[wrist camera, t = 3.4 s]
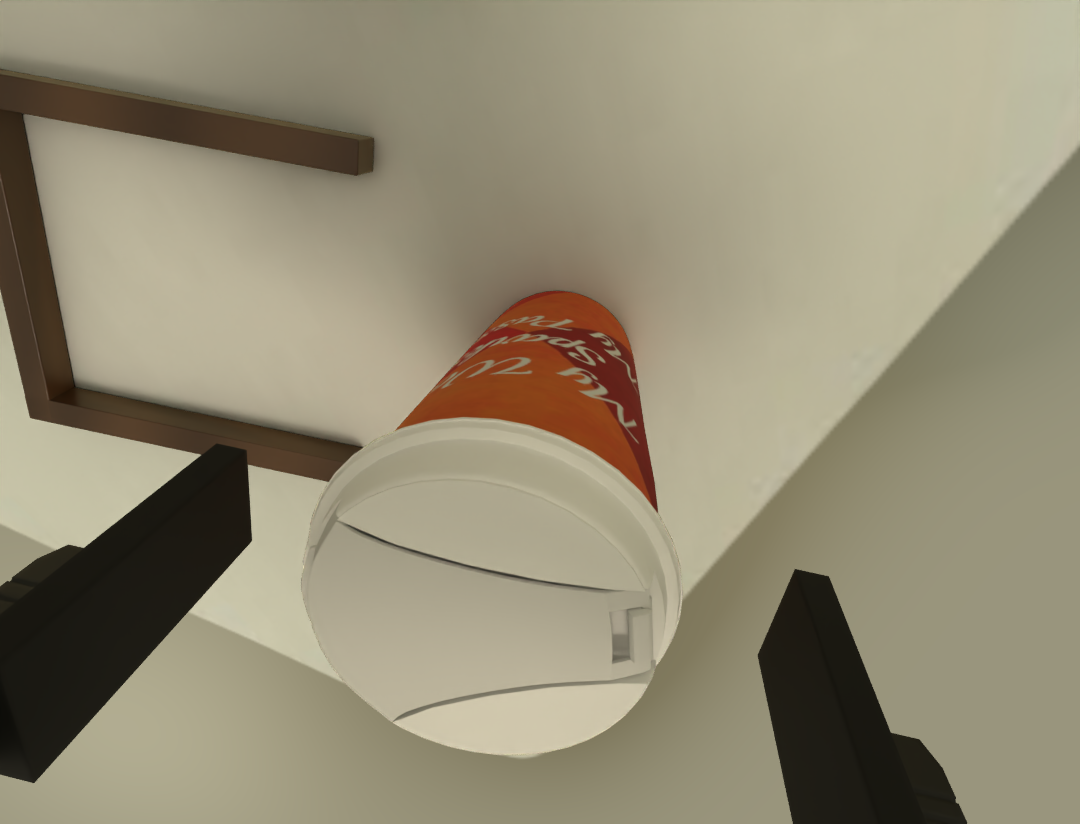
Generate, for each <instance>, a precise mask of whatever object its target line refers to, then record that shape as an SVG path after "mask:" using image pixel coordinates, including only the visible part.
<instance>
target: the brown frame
mask: <svg viewBox="0 0 1080 824" xmlns="http://www.w3.org/2000/svg"><path fill="white" fill-rule="evenodd" d="M22 113H23V114H29V115H34V116H39V117H45V118H50V119H55V120H61V121H66V122H71V123H77V124H82V125H88V126H93V127H98V128H104V129H109V130H114V131H120V132H125V133H130V134H136V135H141V136H146V137H152V138H157V139H162V140H168V141H173V142H178V143H184V144H189V145H195V146H200V147H205V148H211V149H216V150H221V151H227V152H232V153H237V154H243V155H248V156H253V157H259V158H264V159H269V160H275V161H280V162H285V163H291V164H296V165H302V166H307V167H312V168H318V169H323V170H328V171H334V172H339V173H344V174H350V175H355V176H358V175H361V174H365V173H369V172H372V171H373V149H374V138H372V137H368V136H362V135H357V134H351V133H346V132H341V131H335V130H330V129H324V128H319V127H313V126H308V125H302V124H297V123H291V122H286V121H281V120H275V119H270V118H264V117H259V116H253V115H248V114H242V113H237V112H231V111H226V110H221V109H215V108H210V107H204V106H199V105H193V104H188V103H182V102H177V101H171V100H166V99H161V98H155V97H150V96H144V95H139V94H133V93H128V92H122V91H117V90H111V89H106V88H101V87H95V86H90V85H84V84H79V83H73V82H68V81H62V80H57V79H51V78H46V77H41V76H35V75H30V74H24V73H19V72H13V71H8V70H2V69H0V290H1V294H2V299H3V303H4V307H5V312H6V316H7V320H8V324H9V329H10V333H11V337H12V341H13V346H14V350H15V354H16V359H17V363H18V367H19V371H20V376H21V380H22V384H23V389H24V393H25V399H26V403H27V407H28V411H29V416H30V418H32V419H37V420H42V421H46V422H51V423H56V424H60V425H65V426H70V427H75V428H79V429H84V430H89V431H93V432H98V433H103V434H107V435H112V436H117V437H121V438H126V439H131V440H135V441H140V442H145V443H149V444H154V445H159V446H163V447H168V448H173V449H178V450H182V451H187V452H192V453H196V454H201V455H202V454H204V453H205V452H206V451H207V450H209V449H210V448H211V447H212V446H214V445H215V444H216V443H217V444H222V445H227V446H231V447H236V448H240V449H245V450H247V463H248V465H252V466H257V467H262V468H266V469H271V470H276V471H281V472H285V473H290V474H295V475H299V476H304V477H309V478H313V479H318V480H323V481H327V482H329V481H330V480H331V478H332V477H333V475H334V474H335V472H336V471H337V470H338V469H339V468H340V467H341V466H342V465H343V464H344V463H345V462H346V461H347V460H348V459H349V458H350V457H351V456H352V455H353V454H355V453H356V452H358V451H359V450H361V449H362V448H361V447H357V446H352V445H347V444H342V443H338V442H333V441H328V440H323V439H318V438H314V437H309V436H304V435H299V434H295V433H290V432H285V431H280V430H276V429H271V428H266V427H261V426H257V425H252V424H247V423H242V422H238V421H233V420H228V419H223V418H219V417H214V416H209V415H204V414H199V413H195V412H190V411H185V410H180V409H176V408H171V407H166V406H161V405H157V404H152V403H147V402H142V401H138V400H133V399H128V398H123V397H119V396H114V395H109V394H104V393H100V392H95V391H90V390H85V389H80V388H76V387H74V382H73V377H72V372H71V366H70V361H69V356H68V351H67V346H66V341H65V335H64V330H63V325H62V320H61V315H60V309H59V304H58V299H57V294H56V289H55V284H54V278H53V273H52V268H51V263H50V258H49V253H48V247H47V242H46V237H45V232H44V227H43V222H42V216H41V211H40V206H39V201H38V196H37V191H36V185H35V180H34V175H33V170H32V165H31V160H30V154H29V149H28V144H27V139H26V134H25V129H24V123H23V118H22Z"/></svg>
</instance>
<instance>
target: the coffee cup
mask: <svg viewBox="0 0 1080 824" xmlns="http://www.w3.org/2000/svg"><path fill="white" fill-rule="evenodd" d="M303 566H304V568H303V573H302V578H301V590H302V595H303V600H304V604H305V607H306V610H307V613H308V616H309V619H310V621H311V624H312V628H313V630H314V633H315V635H316V638H317V640H318V643H319V645H320V647H321V650H322V651H323V653H324V655H325V657H326V658H327V660H328V662H329V663H330V665H331V667H332V668H333V669H334V671H335V672H336V673H337V674H338V675H339V677H340V678H341V679H342V680H343V681H344V682H345V684H346V685H347V686H348V687H349V688H351V689H352V690H353V691H354V692H355V693H356V694H357V695H359V696H360V697H361V698H362V699H363V700H364V701H365V702H367V703H368V704H369V705H370V706H372V707H373V708H374V709H375V710H377V711H378V712H379V713H381V714H382V715H383V716H384V717H386V718H387V719H388V720H389V721H392V723H394V724H396V725H397V726H399V727H401V728H403V729H405V730H407V731H409V732H412V733H414V734H416V735H418V736H420V737H422V738H425V739H428V740H431V741H434V742H437V743H440V744H443V745H446V746H449V747H453V748H458V749H463V750H467V751H471V752H478V753H487V754H495V755H526V754H536V753H545V752H550V751H554V750H559V749H563V748H567V747H570V746H573V745H576V744H578V743H581V742H583V741H586V740H589V739H591V738H593V737H594V736H596V735H598V734H600V733H602V732H604V731H605V730H607V729H609V728H610V727H611V726H612V725H614V724H615V723H616V722H618V721H619V720H620V719H621V718H623V717H624V716H625V715H626V714H627V713H628V712H629V711H630V709H631V708H632V707H633V706H634V705H635V704H636V703H637V701H638V700H639V699H640V698H641V697H642V695H643V694H644V692H645V690H646V688H647V687H648V685H649V683H650V681H651V680H652V678H653V675H654V671H655V667H656V665H657V664H658V663H659V661H660V660H661V659H662V657H663V655H664V654H665V652H666V650H667V648H668V647H669V645H670V643H671V641H672V640H673V637H674V634H675V631H676V628H677V625H678V622H679V619H680V614H681V605H682V596H683V589H682V579H681V569H680V563H679V560H678V557H677V554H676V550H675V547H674V544H673V540H672V538H671V537H670V535H669V533H668V531H667V529H666V527H665V525H664V523H663V521H662V519H661V517H660V515H659V514H658V508H657V499H656V491H655V483H654V477H653V472H652V466H651V461H650V456H649V450H648V445H647V439H646V434H645V429H644V422H643V415H642V408H641V401H640V395H639V388H638V382H637V376H636V370H635V364H634V359H633V354H632V350H631V347H630V344H629V341H628V338H627V336H626V334H625V332H624V330H623V328H622V327H621V325H620V323H619V322H618V321H617V319H616V318H615V317H614V316H613V315H612V314H611V313H610V312H609V311H608V310H607V309H606V308H605V307H603V306H602V305H600V304H599V303H597V302H596V301H594V300H592V299H590V298H588V297H585V296H583V295H580V294H576V293H572V292H565V291H549V292H542V293H538V294H535V295H532V296H529V297H527V298H524V299H522V300H521V301H519V302H517V303H516V304H514V305H513V306H511V307H510V308H509V309H508V310H506V311H505V312H504V313H503V314H502V315H501V316H500V317H499V318H498V319H497V320H496V321H495V322H494V323H493V324H492V325H491V326H490V327H489V328H488V329H487V330H486V331H485V332H484V333H483V334H482V335H481V337H480V338H479V339H478V340H477V341H476V342H475V343H474V344H473V345H472V346H471V347H470V348H469V350H468V351H467V352H466V353H465V354H464V355H463V356H462V357H461V358H460V359H459V360H458V362H457V363H456V364H455V365H454V366H453V367H452V368H451V369H450V370H449V371H448V372H447V374H446V375H445V376H444V377H443V378H442V379H441V380H440V381H439V382H438V384H437V385H436V386H435V387H434V388H433V389H432V390H431V391H430V392H429V394H428V395H427V396H426V397H425V398H424V399H423V400H422V401H421V402H420V404H419V405H418V406H417V407H416V408H415V409H414V410H413V411H412V412H411V413H410V415H409V416H408V417H407V418H406V419H405V420H404V421H403V422H402V423H401V425H400V426H399V427H398V428H397V429H396V430H395V431H393V432H391V433H389V434H387V435H384V436H382V437H380V438H378V439H376V440H374V441H373V442H371V443H370V444H368V445H367V446H365V447H364V448H362V449H361V450H359V451H358V452H356V453H355V454H353V455H352V456H351V457H350V458H349V459H348V460H347V461H346V462H345V463H344V464H343V465H342V466H341V467H340V468H339V469H338V470H337V471H336V472H335V474H334V475H333V477H332V478H331V480H330V481H329V483H328V484H327V486H326V487H325V489H324V490H323V492H322V493H321V495H320V497H319V500H318V503H317V505H316V508H315V510H314V513H313V515H312V520H311V526H310V531H309V537H308V542H307V546H306V550H305V554H304V558H303Z"/></svg>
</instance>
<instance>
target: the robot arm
mask: <svg viewBox="0 0 1080 824" xmlns="http://www.w3.org/2000/svg"><path fill="white" fill-rule="evenodd" d="M251 541H252V533H251V515H250V498H249V480H248V463H247V450H245V449H240V448H236V447H231V446H227V445H222V444H217V443H216V444H215V445H214V446H212V447H211V448H210V449H209V450H207V451H206V452H205V453H204V454H202V455H201V456H200V457H199V458H197V459H196V460H195V461H193V462H192V463H191V464H190V465H188V466H187V467H186V468H185V469H183V470H182V471H181V472H180V473H178V474H177V475H176V476H174V477H173V478H172V479H171V480H169V481H168V482H167V483H166V484H164V485H163V486H162V487H161V488H159V489H158V490H157V491H155V492H154V493H153V494H152V495H150V496H149V497H148V498H147V499H145V500H144V501H143V502H142V503H140V504H139V505H138V506H137V507H135V508H134V509H133V510H131V511H130V512H129V513H128V514H126V515H125V516H124V517H123V518H121V519H120V520H119V521H118V522H116V523H115V524H114V525H112V526H111V527H110V528H109V529H107V530H106V531H105V532H104V533H102V534H101V535H100V536H99V537H97V538H96V539H95V540H93V541H92V542H91V543H90V544H88V545H87V546H86V547H85V548H81V547H77V546H72V545H67V546H65V547H62V548H60V549H58V550H56V551H53V552H51V553H49V554H47V555H44V556H42V557H40V558H38V559H36V560H35V561H34V562H32V563H31V564H29V565H28V566H27V567H25V568H24V569H23V570H21V571H20V572H19V573H17V574H16V575H15V576H13V577H12V580H11V581H10V582H9V581H7V582H5V583H4V584H3V585H1V586H0V774H1V775H4V776H8V777H12V778H16V779H20V780H24V781H28V782H32V783H35V781H36V780H37V779H38V778H39V777H40V776H41V775H42V774H43V773H44V772H45V770H46V769H47V768H48V767H49V766H50V765H51V764H52V763H53V761H54V760H55V759H56V758H57V757H58V756H59V755H60V754H61V753H62V751H63V750H64V749H65V748H66V747H67V746H68V745H69V744H70V742H72V740H73V739H74V738H75V737H76V736H77V735H78V734H79V733H80V732H81V730H82V729H83V728H84V727H85V726H86V725H87V724H88V723H89V722H90V720H91V719H92V718H93V717H94V716H95V715H96V714H97V713H98V712H99V710H100V709H101V708H102V707H103V706H104V705H105V704H106V703H107V701H108V700H109V699H110V698H111V697H112V696H113V695H114V694H115V693H116V691H117V690H118V689H119V688H120V687H121V686H122V685H123V684H124V683H125V681H126V680H127V679H128V678H129V677H130V676H131V675H132V674H133V673H134V671H135V670H136V669H137V668H138V667H139V666H140V665H141V664H142V663H143V661H144V660H145V659H146V658H147V657H148V656H149V655H150V654H151V653H152V651H153V650H154V649H155V648H156V647H157V646H158V645H159V644H160V643H161V641H162V640H163V639H164V638H165V637H166V636H167V635H168V634H169V632H170V631H171V630H172V629H173V628H174V627H175V626H176V625H177V624H178V623H179V621H180V620H181V619H182V618H183V617H184V616H185V615H186V614H187V613H188V611H189V610H190V609H191V608H192V607H193V606H194V605H195V604H196V603H197V601H198V600H199V599H200V598H201V597H202V596H203V595H204V594H205V593H206V591H207V590H208V589H209V588H210V587H211V586H212V585H213V584H214V583H215V581H216V580H217V579H218V578H219V577H220V576H221V575H222V574H223V573H224V571H225V570H226V569H227V568H228V567H229V566H230V565H231V564H232V563H233V561H234V560H235V559H236V558H237V557H238V556H239V555H240V554H241V553H242V551H243V550H244V549H245V548H246V547H247V546H248V545H249V544H250V543H251ZM758 659H759V664H760V669H761V674H762V678H763V683H764V688H765V693H766V697H767V702H768V707H769V711H770V716H771V721H772V726H773V731H774V736H775V740H776V745H777V750H778V755H779V759H780V764H781V769H782V773H783V779H784V783H785V788H786V793H787V797H788V802H789V806H790V812H791V817H792V821H793V824H967V821H966V819H965V817H964V815H963V812H962V810H961V808H960V806H959V804H957V803H956V801H955V799H956V797H955V795H954V792H953V790H952V788H951V786H950V784H949V782H948V779H947V777H946V775H945V773H944V770H943V768H942V767H941V766H940V764H939V763H938V762H937V761H936V760H935V758H934V757H933V756H932V755H931V753H930V752H929V751H928V750H927V748H926V747H925V746H924V745H923V743H922V742H921V741H920V740H919V739H915V738H911V737H906V736H902V735H897V734H894V733H891V732H890V730H889V727H888V725H887V722H886V720H885V717H884V714H883V712H882V710H881V707H880V704H879V702H878V700H877V697H876V694H875V692H874V689H873V687H872V684H871V682H870V679H869V677H868V674H867V672H866V669H865V667H864V664H863V662H862V659H861V657H860V654H859V651H858V649H857V646H856V644H855V641H854V639H853V636H852V634H851V631H850V629H849V626H848V624H847V621H846V619H845V616H844V614H843V611H842V608H841V606H840V604H839V601H838V598H837V596H836V593H835V591H834V588H833V586H832V583H831V581H830V578H829V576H824V575H819V574H815V573H810V572H806V571H801V570H797V569H795V570H794V573H793V575H792V577H791V579H790V582H789V584H788V586H787V589H786V591H785V593H784V596H783V598H782V600H781V603H780V605H779V607H778V610H777V612H776V614H775V616H774V619H773V621H772V623H771V626H770V628H769V631H768V633H767V635H766V637H765V640H764V642H763V644H762V647H761V649H760V651H759V653H758Z"/></svg>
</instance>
